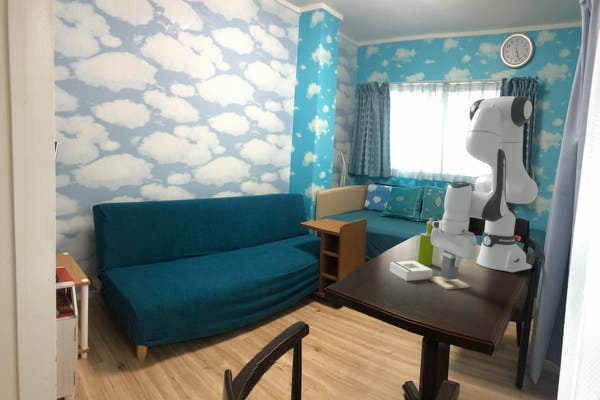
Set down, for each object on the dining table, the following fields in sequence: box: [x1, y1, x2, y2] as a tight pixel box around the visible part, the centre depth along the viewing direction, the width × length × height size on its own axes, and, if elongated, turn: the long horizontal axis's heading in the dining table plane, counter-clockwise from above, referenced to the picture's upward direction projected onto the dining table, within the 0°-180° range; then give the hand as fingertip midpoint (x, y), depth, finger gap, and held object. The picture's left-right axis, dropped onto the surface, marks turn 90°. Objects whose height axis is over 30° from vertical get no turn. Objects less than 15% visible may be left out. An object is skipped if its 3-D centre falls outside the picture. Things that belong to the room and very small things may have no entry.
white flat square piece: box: [389, 260, 433, 282], centre depth 146 cm, size 11×11×4 cm
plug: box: [440, 252, 460, 280], centre depth 138 cm, size 4×4×9 cm
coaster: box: [428, 275, 471, 290], centre depth 139 cm, size 10×10×1 cm
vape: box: [417, 217, 435, 267], centre depth 160 cm, size 4×6×20 cm, turn 49°
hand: (450, 264), depth 138 cm, fingers closed on plug, 4 cm apart
